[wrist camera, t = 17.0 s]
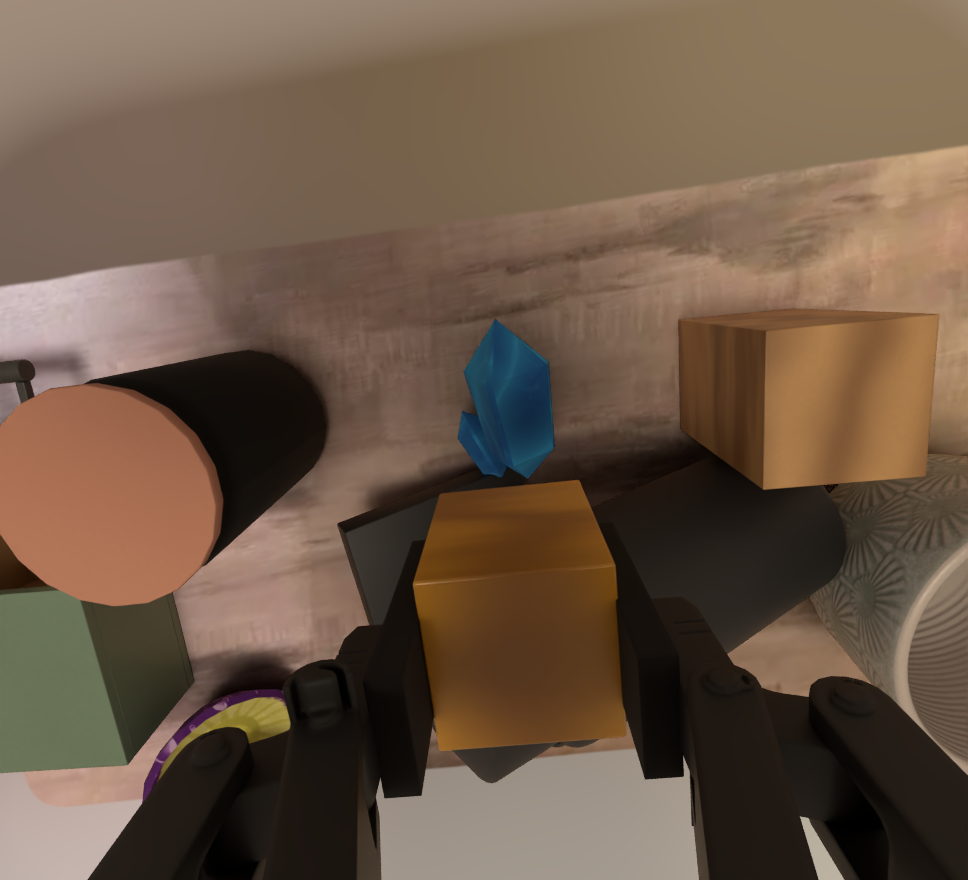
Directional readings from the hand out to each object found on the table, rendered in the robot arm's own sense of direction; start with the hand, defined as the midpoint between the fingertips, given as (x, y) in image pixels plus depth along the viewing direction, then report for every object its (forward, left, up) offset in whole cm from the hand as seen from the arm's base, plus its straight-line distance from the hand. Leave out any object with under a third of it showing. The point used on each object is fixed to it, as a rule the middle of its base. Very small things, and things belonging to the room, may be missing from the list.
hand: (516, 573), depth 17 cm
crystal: (0, +2, -26) cm, 26 cm away
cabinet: (-14, -34, -26) cm, 46 cm away
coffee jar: (-14, -13, -27) cm, 32 cm away
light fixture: (+10, -4, -26) cm, 28 cm away
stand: (+11, +13, -26) cm, 31 cm away
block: (0, 0, -2) cm, 2 cm away
